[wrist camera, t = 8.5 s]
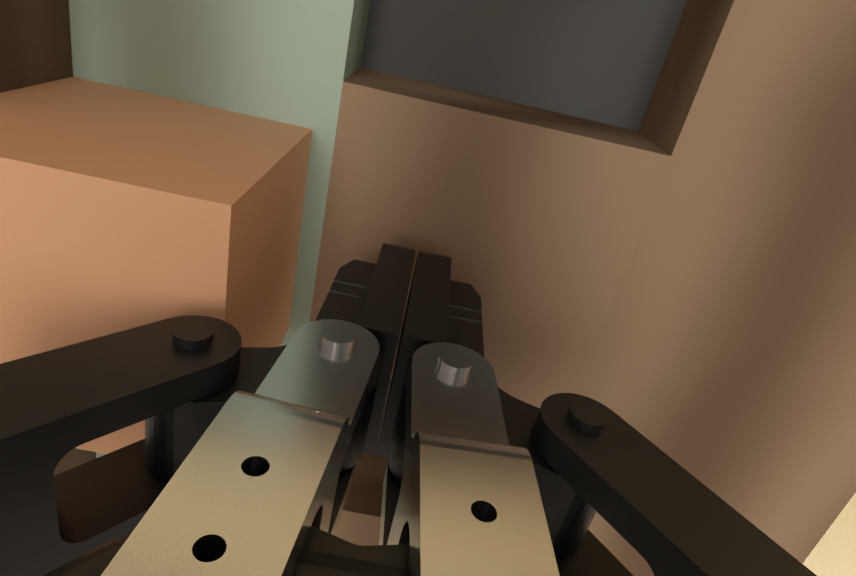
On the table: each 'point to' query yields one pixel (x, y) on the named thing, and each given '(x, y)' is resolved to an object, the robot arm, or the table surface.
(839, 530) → the table surface
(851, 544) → the table surface
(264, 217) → the block
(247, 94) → the track
